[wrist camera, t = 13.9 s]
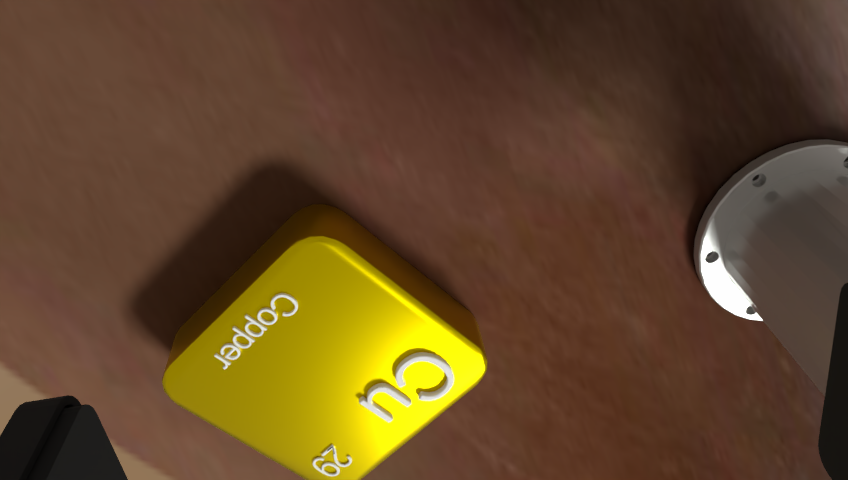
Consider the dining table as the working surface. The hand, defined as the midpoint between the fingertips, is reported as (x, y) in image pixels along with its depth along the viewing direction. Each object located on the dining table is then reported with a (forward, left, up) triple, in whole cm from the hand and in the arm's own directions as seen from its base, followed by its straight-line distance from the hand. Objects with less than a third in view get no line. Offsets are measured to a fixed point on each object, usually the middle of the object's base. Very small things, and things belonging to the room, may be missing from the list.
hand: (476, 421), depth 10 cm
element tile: (+8, +22, -33) cm, 41 cm away
